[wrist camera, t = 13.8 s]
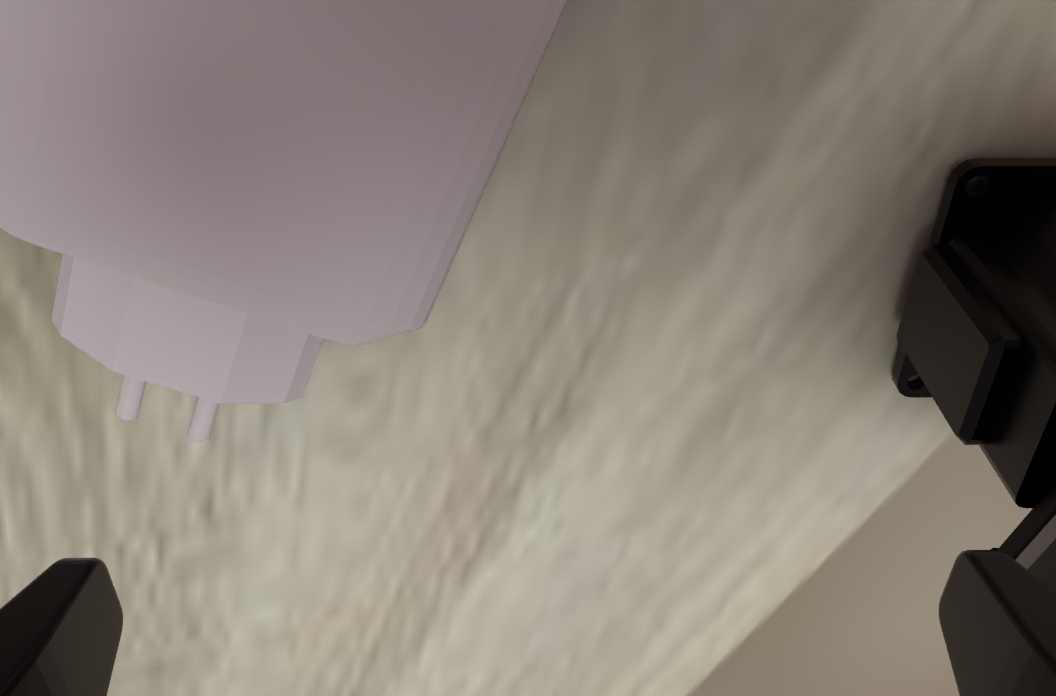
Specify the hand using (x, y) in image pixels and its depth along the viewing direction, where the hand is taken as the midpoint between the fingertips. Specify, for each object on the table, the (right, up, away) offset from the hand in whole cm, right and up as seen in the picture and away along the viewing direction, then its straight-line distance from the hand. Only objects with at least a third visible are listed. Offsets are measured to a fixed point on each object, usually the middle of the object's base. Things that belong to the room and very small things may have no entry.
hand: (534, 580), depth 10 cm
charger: (-6, +8, +11) cm, 15 cm away
